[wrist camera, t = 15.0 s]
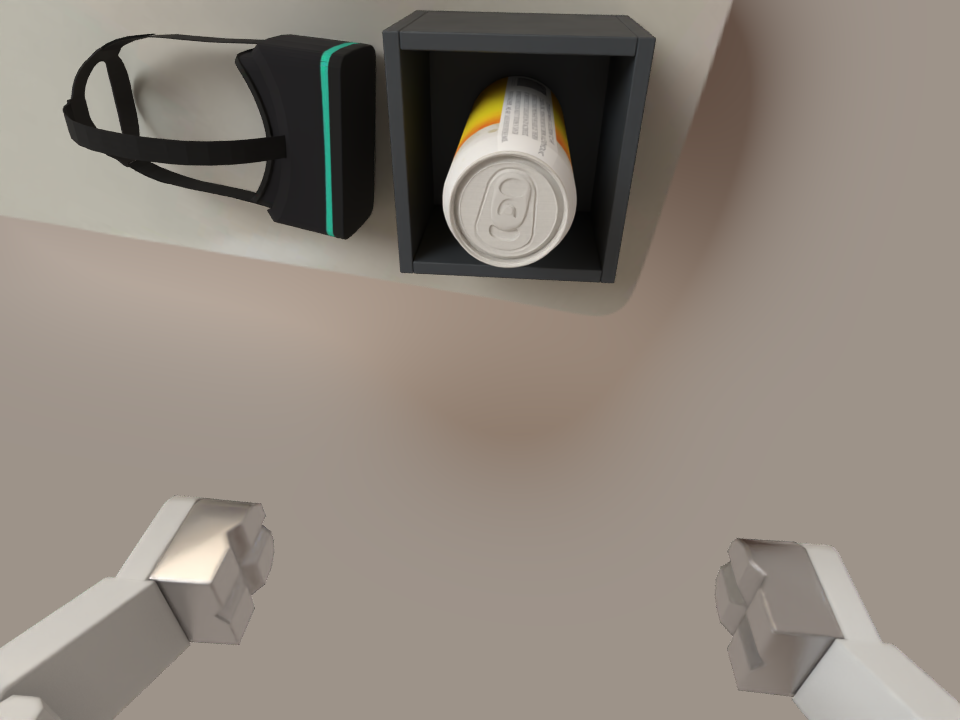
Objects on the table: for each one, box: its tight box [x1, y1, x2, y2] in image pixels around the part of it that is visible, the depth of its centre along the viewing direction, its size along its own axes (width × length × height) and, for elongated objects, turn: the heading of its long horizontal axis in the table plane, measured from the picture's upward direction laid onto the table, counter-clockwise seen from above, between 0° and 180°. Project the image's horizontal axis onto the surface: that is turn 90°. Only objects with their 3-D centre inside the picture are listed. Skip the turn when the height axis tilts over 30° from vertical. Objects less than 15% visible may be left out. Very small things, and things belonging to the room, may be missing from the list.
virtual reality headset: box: [63, 34, 376, 239], centre depth 35 cm, size 11×17×10 cm, turn 83°
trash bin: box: [382, 10, 656, 283], centre depth 34 cm, size 13×13×10 cm
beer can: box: [443, 76, 577, 268], centre depth 31 cm, size 6×6×15 cm
